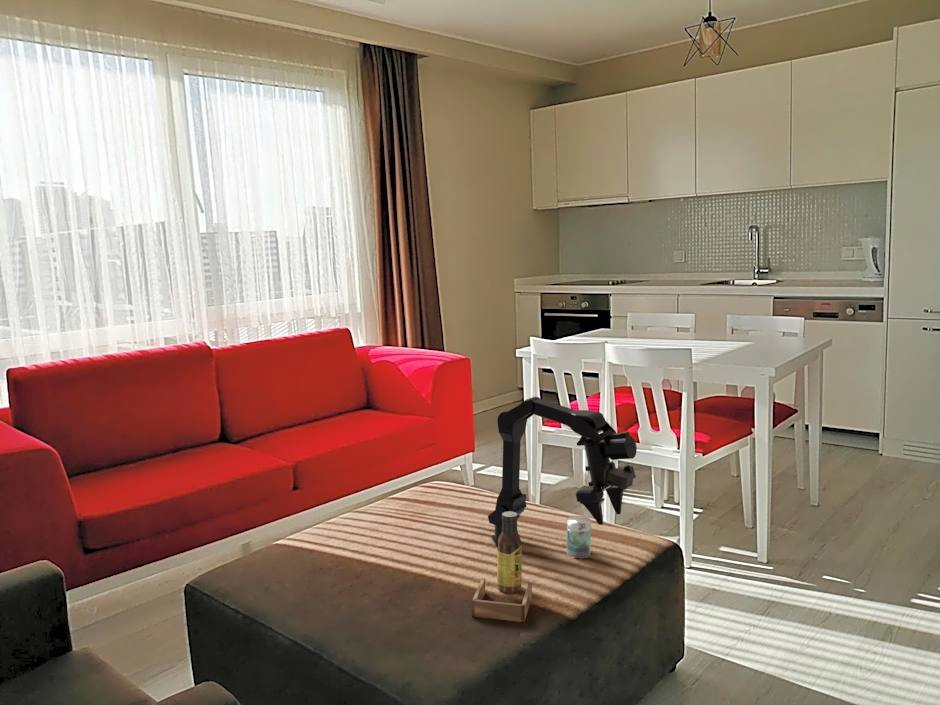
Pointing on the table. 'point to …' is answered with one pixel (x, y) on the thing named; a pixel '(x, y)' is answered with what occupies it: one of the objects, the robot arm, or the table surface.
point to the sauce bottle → (509, 555)
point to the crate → (500, 606)
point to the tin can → (578, 536)
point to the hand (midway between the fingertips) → (610, 519)
